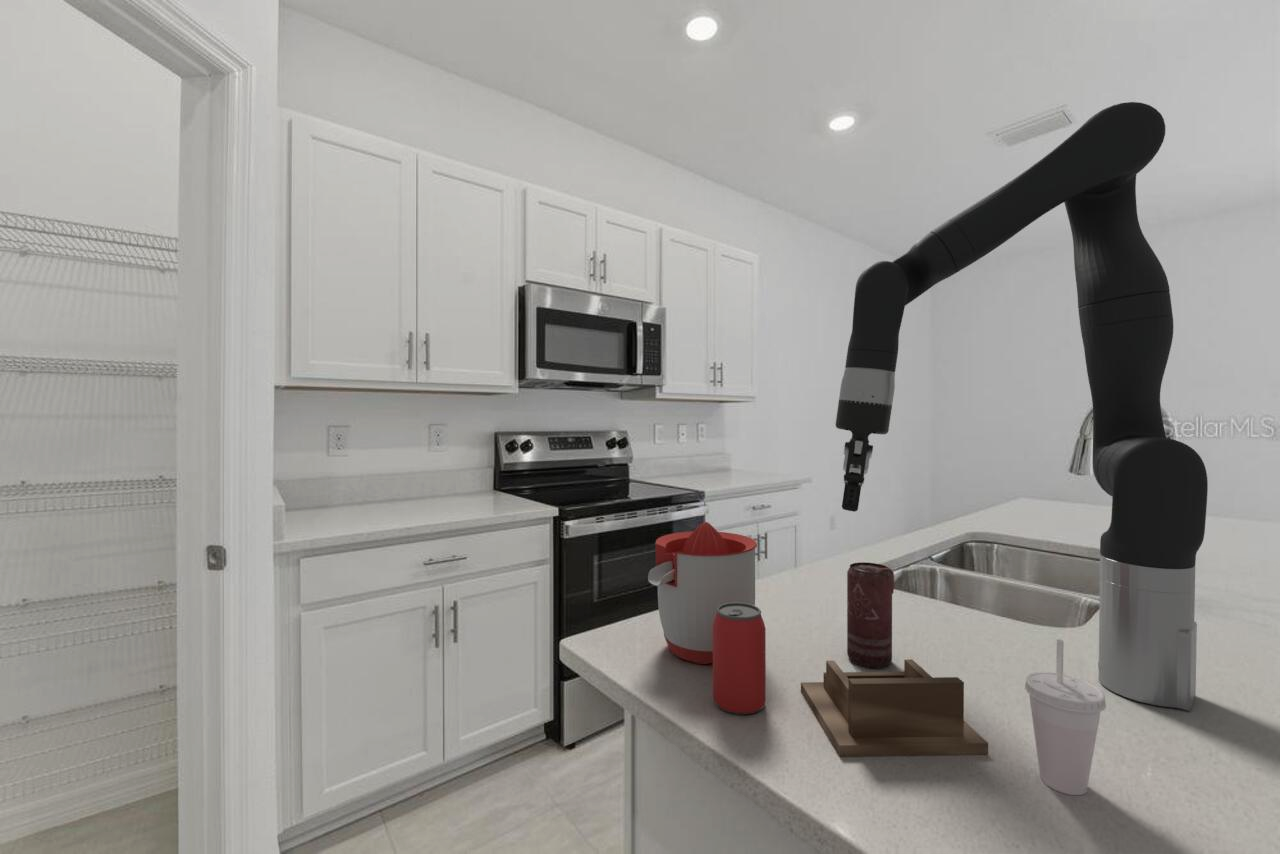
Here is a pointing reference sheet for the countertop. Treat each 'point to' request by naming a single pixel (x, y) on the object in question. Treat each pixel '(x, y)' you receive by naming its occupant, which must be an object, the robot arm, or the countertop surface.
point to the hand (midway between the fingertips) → (850, 506)
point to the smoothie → (1064, 726)
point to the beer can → (739, 658)
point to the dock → (892, 713)
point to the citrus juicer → (700, 585)
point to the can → (869, 614)
